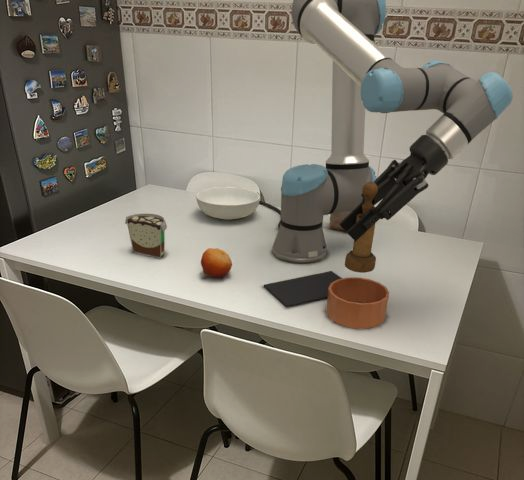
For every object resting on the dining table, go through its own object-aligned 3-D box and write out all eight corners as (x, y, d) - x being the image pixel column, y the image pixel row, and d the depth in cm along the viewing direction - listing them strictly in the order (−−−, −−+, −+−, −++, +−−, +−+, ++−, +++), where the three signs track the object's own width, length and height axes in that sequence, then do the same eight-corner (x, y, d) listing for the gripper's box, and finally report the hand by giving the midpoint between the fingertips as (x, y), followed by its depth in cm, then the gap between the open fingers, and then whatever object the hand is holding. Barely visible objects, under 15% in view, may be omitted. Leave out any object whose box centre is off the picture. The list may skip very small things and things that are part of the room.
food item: (324, 229, 164) (327, 198, 158) (334, 222, 170) (337, 191, 164) (364, 237, 158) (369, 206, 153) (374, 230, 164) (378, 199, 158)
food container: (177, 251, 146) (175, 217, 141) (165, 259, 142) (162, 224, 136) (141, 244, 150) (138, 210, 145) (128, 251, 146) (124, 216, 140)
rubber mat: (263, 286, 129) (263, 284, 128) (331, 272, 136) (331, 270, 136) (286, 307, 120) (286, 305, 120) (357, 291, 128) (358, 289, 127)
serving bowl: (259, 227, 164) (259, 205, 160) (193, 225, 164) (192, 204, 160) (260, 206, 182) (260, 186, 178) (200, 204, 182) (199, 185, 178)
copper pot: (315, 306, 121) (317, 283, 117) (362, 296, 126) (365, 273, 122) (348, 333, 111) (351, 309, 107) (397, 320, 116) (401, 297, 113)
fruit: (194, 263, 136) (208, 238, 133) (220, 277, 139) (235, 253, 135) (193, 277, 129) (208, 251, 126) (220, 291, 132) (236, 266, 129)
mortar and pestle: (374, 274, 109) (387, 188, 99) (343, 271, 110) (353, 186, 100) (375, 261, 115) (387, 179, 105) (345, 258, 116) (355, 177, 106)
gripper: (468, 172, 96) (372, 260, 102) (426, 150, 110) (344, 229, 116) (448, 143, 92) (350, 236, 99) (408, 124, 106) (323, 207, 112)
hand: (347, 232), depth 107 cm, fingers closed on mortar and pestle, 4 cm apart
